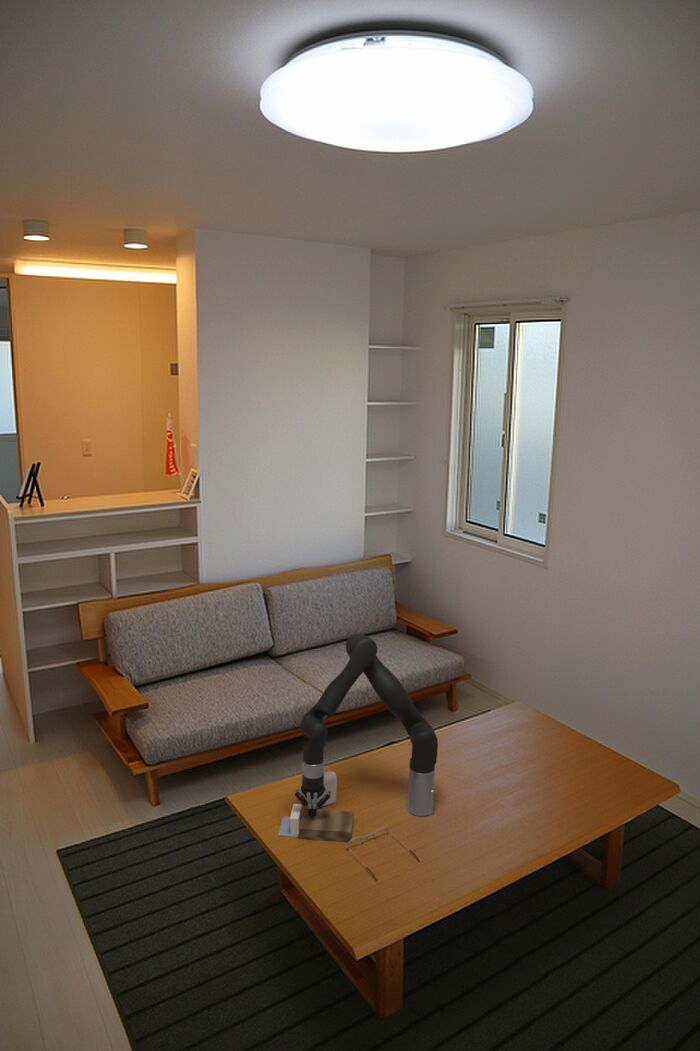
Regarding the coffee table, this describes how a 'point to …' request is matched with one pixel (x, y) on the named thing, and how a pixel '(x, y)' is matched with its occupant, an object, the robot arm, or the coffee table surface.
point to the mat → (286, 828)
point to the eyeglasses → (376, 838)
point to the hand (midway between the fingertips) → (312, 816)
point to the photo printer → (329, 787)
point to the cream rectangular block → (295, 818)
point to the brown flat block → (327, 826)
